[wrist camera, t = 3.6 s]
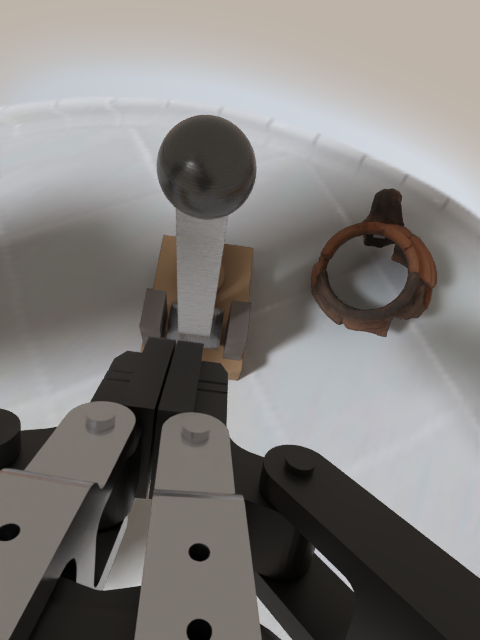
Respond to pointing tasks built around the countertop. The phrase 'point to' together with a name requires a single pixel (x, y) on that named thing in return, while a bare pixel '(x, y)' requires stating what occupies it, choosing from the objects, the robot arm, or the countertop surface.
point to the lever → (202, 215)
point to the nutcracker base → (228, 297)
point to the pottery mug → (408, 251)
